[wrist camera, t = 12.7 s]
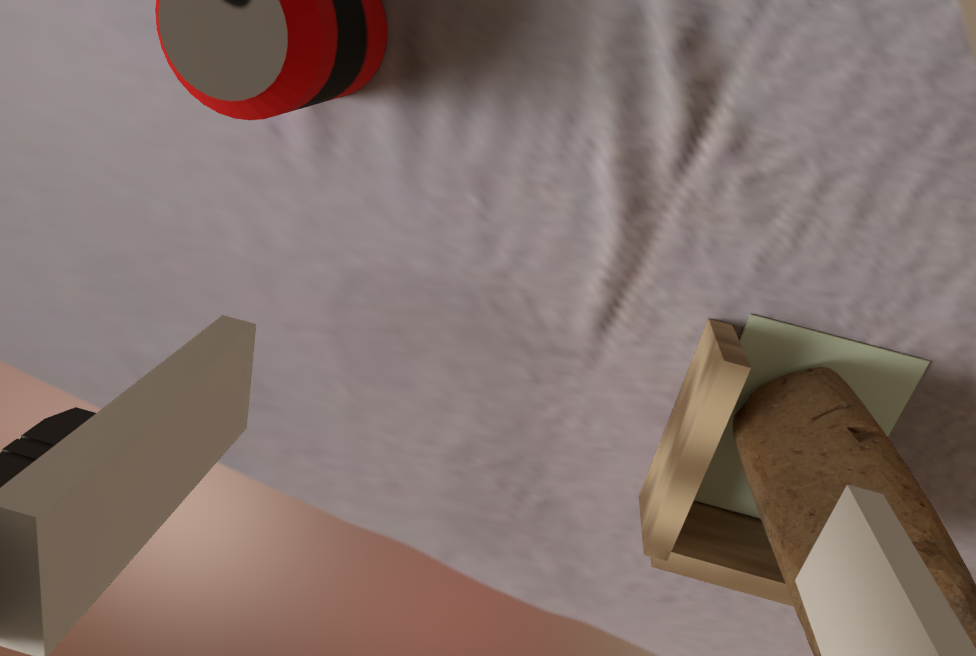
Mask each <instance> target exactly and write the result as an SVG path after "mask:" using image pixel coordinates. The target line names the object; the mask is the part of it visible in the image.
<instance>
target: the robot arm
mask: <svg viewBox="0 0 976 656" xmlns="http://www.w3.org/2000/svg"><path fill="white" fill-rule="evenodd" d="M255 331H256V324H253V323H250V322H246V321H242V320H238V319H235V318H231V317H227V316H224V315H223V316H221V317H220V318H219V319H217V320H216V321H215V322H214V323H212V324H211V325H210V326H208V327H207V328H206V329H205V330H203V331H202V332H201V333H199V334H198V335H197V336H195V337H194V338H193V339H192V340H190V341H189V342H188V343H186V344H185V345H184V346H183V347H181V348H180V349H179V350H177V351H176V352H175V353H174V354H172V355H171V356H170V357H168V358H167V359H166V360H165V361H163V362H162V363H161V364H159V365H158V366H157V367H156V368H154V369H153V370H152V371H150V372H149V373H148V374H146V375H145V376H144V377H143V378H141V379H140V380H139V381H137V382H136V383H135V384H134V385H132V386H131V387H130V388H128V389H127V390H126V391H125V392H123V393H122V394H121V395H119V396H118V397H117V398H116V399H114V400H113V401H112V402H110V403H109V404H108V405H106V406H105V407H104V408H103V409H101V410H100V411H99V412H98V413H94V412H90V411H87V410H83V409H80V408H76V407H75V408H73V409H70V410H67V411H65V412H62V413H59V414H57V415H54V416H51V417H48V418H46V419H44V420H43V421H41V422H40V423H38V424H37V425H35V426H34V427H33V428H31V429H30V430H28V431H27V432H26V433H24V434H23V435H21V438H20V439H16V440H14V441H13V442H12V443H10V444H9V445H8V446H6V447H5V448H3V449H2V452H1V453H0V646H2V647H6V648H9V649H12V650H16V651H19V652H22V653H26V654H29V655H33V656H48V655H49V654H50V653H51V652H52V650H53V649H54V648H55V647H56V646H57V645H58V644H59V642H60V641H61V640H62V639H63V638H64V636H65V635H66V634H67V633H68V632H69V631H70V630H71V629H72V627H73V626H74V625H75V624H76V623H77V622H78V621H79V619H80V618H81V617H82V616H83V615H84V614H85V613H86V611H87V610H88V609H89V608H90V607H91V606H92V604H93V603H94V602H95V601H96V600H97V599H98V598H99V596H100V595H101V594H102V593H103V592H104V591H105V590H106V588H107V587H108V586H109V585H110V584H111V583H112V581H113V580H114V579H115V578H116V577H117V576H118V575H119V573H120V572H121V571H122V570H123V569H124V568H125V567H126V566H127V564H128V563H129V562H130V561H131V560H132V559H133V557H134V556H135V555H136V554H137V553H138V552H139V551H140V549H141V548H142V547H143V546H144V545H145V544H146V543H147V542H148V540H149V539H150V538H151V537H152V535H154V533H155V532H156V531H157V530H158V529H159V528H160V526H161V525H162V524H163V523H164V522H165V521H166V520H167V519H168V517H169V516H170V515H171V514H172V513H173V512H174V511H175V509H176V508H177V507H178V506H179V505H180V504H181V503H182V501H183V500H184V499H185V498H186V497H187V496H188V494H189V493H190V492H191V491H192V490H193V489H194V488H195V486H196V485H197V484H198V483H199V482H200V481H201V480H202V478H203V477H204V476H205V475H206V474H207V473H208V471H209V470H210V469H211V468H212V467H213V466H214V465H215V464H216V462H217V461H218V460H219V459H220V458H221V457H222V456H223V454H224V453H225V452H226V451H227V450H228V449H229V448H230V446H231V445H232V444H233V443H234V442H235V441H236V439H237V438H238V437H239V436H240V435H241V434H242V433H243V431H244V430H245V429H246V428H247V418H248V407H249V396H250V385H251V374H252V363H253V352H254V342H255ZM795 582H796V584H797V587H798V590H799V593H800V596H801V599H802V602H803V604H804V607H805V610H806V613H807V616H808V619H809V622H810V624H811V627H812V630H813V633H814V636H815V639H816V642H817V644H818V647H819V650H820V653H821V656H976V648H975V646H974V645H973V643H972V641H971V640H970V638H969V636H968V635H967V633H966V631H965V630H964V628H963V627H962V625H961V623H960V622H959V620H958V618H957V617H956V615H955V613H954V612H953V610H952V608H951V607H950V605H949V603H948V602H947V600H946V598H945V597H944V595H943V593H942V592H941V590H940V588H939V587H938V585H937V583H936V582H935V580H934V578H933V577H932V575H931V573H930V572H929V570H928V568H927V567H926V565H925V563H924V562H923V560H922V558H921V557H920V555H919V553H918V552H917V550H916V548H915V547H914V545H913V543H912V542H911V540H910V538H909V537H908V535H907V533H906V532H905V530H904V528H903V527H902V525H901V523H900V522H899V520H898V518H897V517H896V515H895V513H894V512H893V510H892V508H891V507H890V505H889V503H888V502H887V500H886V498H885V497H884V495H883V494H880V493H877V492H873V491H869V490H866V489H862V488H858V487H855V486H851V485H847V486H846V488H845V489H844V491H843V493H842V495H841V497H840V499H839V500H838V502H837V504H836V506H835V508H834V510H833V511H832V513H831V515H830V517H829V519H828V521H827V522H826V524H825V526H824V528H823V530H822V532H821V533H820V535H819V537H818V539H817V541H816V543H815V544H814V546H813V548H812V550H811V552H810V554H809V555H808V557H807V559H806V561H805V563H804V565H803V566H802V568H801V570H800V572H799V574H798V576H797V578H796V579H795Z"/></svg>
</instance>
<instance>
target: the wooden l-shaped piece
mask: <svg viewBox="0 0 976 656" xmlns="http://www.w3.org/2000/svg"><path fill="white" fill-rule="evenodd" d="M750 370H751V366H750V364H749V362H748V360H747V357H746V355H745V353H744V351H743V348H742V346H741V344H740V341H739V339H738V337H737V335H736V332H735V330H734V328H733V325H731V324H727V323H723V322H719V321H715V320H712V319H708V321H707V324H706V326H705V329H704V331H703V334H702V336H701V339H700V342H699V344H698V347H697V349H696V352H695V354H694V357H693V359H692V362H691V364H690V367H689V370H688V372H687V375H686V377H685V380H684V382H683V385H682V387H681V390H680V392H679V395H678V398H677V400H676V403H675V405H674V408H673V410H672V413H671V415H670V418H669V420H668V423H667V426H666V428H665V431H664V433H663V436H662V438H661V441H660V443H659V446H658V448H657V451H656V454H655V456H654V459H653V461H652V464H651V466H650V469H649V471H648V474H647V476H646V479H645V482H644V484H643V487H642V489H641V492H640V494H639V504H640V516H641V528H642V540H643V552H644V555H647V556H651V565H652V567H654V568H658V569H662V570H665V571H669V572H672V573H676V574H679V575H683V576H687V577H690V578H694V579H697V580H701V581H704V582H708V583H712V584H715V585H719V586H722V587H726V588H730V589H733V590H737V591H740V592H744V593H747V594H751V595H755V596H758V597H762V598H765V599H769V600H772V601H776V602H780V603H783V604H787V605H790V606H794V604H793V602H792V599H791V596H790V593H789V590H788V587H787V585H786V583H785V581H784V578H783V575H782V573H781V570H780V568H779V565H778V562H777V560H776V557H775V555H774V552H773V550H772V547H771V544H770V542H769V540H768V537H767V534H766V531H765V528H764V526H763V523H762V521H761V520H758V519H755V518H751V517H748V516H744V515H740V514H737V513H733V512H729V511H726V510H722V509H718V508H715V507H711V506H708V505H704V504H700V503H697V502H693V501H694V498H695V496H696V494H697V491H698V489H699V487H700V485H701V482H702V480H703V478H704V475H705V473H706V471H707V468H708V466H709V464H710V462H711V459H712V457H713V455H714V452H715V450H716V448H717V445H718V443H719V441H720V439H721V436H722V434H723V432H724V429H725V427H726V425H727V423H728V420H729V418H730V416H731V413H732V411H733V409H734V406H735V404H736V402H737V400H738V397H739V395H740V393H741V390H742V388H743V386H744V383H745V381H746V379H747V377H748V374H749V372H750Z"/></svg>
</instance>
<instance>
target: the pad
mask: <svg viewBox="0 0 976 656" xmlns="http://www.w3.org/2000/svg"><path fill="white" fill-rule="evenodd" d="M739 341H740V344H741V346H742V348H743V351H744V353H745V355H746V357H747V360H748V362H749V364H750V366H751V370H750V372H749V374H748V377H747V379H746V381H745V383H744V386H743V388H742V390H741V393H740V395H739V397H738V400H737V402H736V404H735V406H734V409H733V411H732V413H731V416H730V418H729V420H728V423H727V425H726V427H725V429H724V432H723V434H722V436H721V439H720V441H719V443H718V445H717V448H716V450H715V452H714V455H713V457H712V459H711V462H710V464H709V466H708V468H707V471H706V473H705V475H704V478H703V480H702V482H701V485H700V487H699V489H698V491H697V494H696V496H695V498H694V500H695V501H698V502H702V503H706V504H709V505H713V506H717V507H720V508H724V509H727V510H731V511H735V512H738V513H742V514H746V515H749V516H753V517H757V518H760V515H759V513H758V510H757V507H756V504H755V501H754V499H753V495H752V492H751V489H750V486H749V483H748V480H747V478H746V475H745V472H744V469H743V466H742V462H741V459H740V455H739V452H738V449H737V446H736V443H735V439H734V434H733V418H734V415H735V414H736V413H737V412H738V410H739V409H740V408H741V407H742V406H743V405H744V404H745V403H746V402H747V401H748V399H749V397H750V395H751V394H752V393H753V392H755V391H756V390H757V389H758V388H759V387H760V386H761V385H763V384H765V383H767V382H769V381H771V380H773V379H776V378H778V377H781V376H784V375H786V374H789V373H792V372H797V371H803V370H807V369H810V368H817V367H827V368H830V369H831V370H833V371H835V372H836V373H837V374H838V375H839V376H840V377H841V378H842V379H843V380H844V381H845V382H846V383H847V384H848V385H849V386H850V388H851V389H852V390H853V391H854V392H855V394H856V395H857V396H858V397H859V399H860V400H861V401H862V403H863V404H864V405H865V407H866V408H867V409H868V411H869V412H870V413H871V415H872V416H873V418H874V419H875V420H876V422H877V423H878V424H879V426H880V427H881V428H882V430H883V431H884V433H885V434H886V436H887V437H888V436H889V435H890V433H891V431H892V429H893V427H894V426H895V424H896V422H897V420H898V418H899V417H900V415H901V413H902V411H903V409H904V408H905V406H906V404H907V402H908V400H909V399H910V397H911V395H912V393H913V391H914V390H915V388H916V386H917V384H918V382H919V381H920V379H921V377H922V375H923V373H924V372H925V370H926V368H927V366H928V364H929V363H930V362H929V361H928V360H925V359H921V358H917V357H913V356H910V355H906V354H902V353H898V352H894V351H890V350H887V349H883V348H879V347H875V346H871V345H868V344H864V343H860V342H856V341H852V340H849V339H845V338H841V337H837V336H833V335H830V334H826V333H822V332H818V331H814V330H811V329H807V328H803V327H799V326H795V325H792V324H788V323H784V322H780V321H776V320H773V319H769V318H765V317H761V316H757V315H754V314H750V315H749V318H748V320H747V322H746V325H745V327H744V330H743V332H742V334H741V337H740V339H739ZM760 519H761V518H760Z"/></svg>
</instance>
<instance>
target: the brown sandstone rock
mask: <svg viewBox="0 0 976 656" xmlns="http://www.w3.org/2000/svg"><path fill="white" fill-rule="evenodd" d="M733 434H734V439H735V443H736V446H737V449H738V452H739V455H740V459H741V462H742V466H743V469H744V472H745V475H746V478H747V480H748V483H749V486H750V489H751V492H752V495H753V499H754V501H755V504H756V507H757V510H758V513H759V515H760V518H761V521H762V523H763V526H764V528H765V531H766V534H767V537H768V540H769V542H770V544H771V547H772V550H773V552H774V555H775V557H776V560H777V562H778V565H779V568H780V570H781V573H782V575H783V578H784V581H785V583H786V585H787V587H788V590H789V593H790V596H791V599H792V602H793V604H794V607H795V610H796V613H797V616H798V618H799V620H800V622H801V624H802V627H803V629H804V631H805V634H806V638H807V640H808V643H809V645H810V647H811V650H812V652H813V654H814V656H821V653H820V650H819V647H818V644H817V642H816V639H815V636H814V633H813V630H812V627H811V624H810V622H809V619H808V616H807V613H806V610H805V607H804V604H803V602H802V599H801V596H800V593H799V590H798V587H797V584H796V582H795V579H796V578H797V576H798V574H799V572H800V570H801V568H802V566H803V565H804V563H805V561H806V559H807V557H808V555H809V554H810V552H811V550H812V548H813V546H814V544H815V543H816V541H817V539H818V537H819V535H820V533H821V532H822V530H823V528H824V526H825V524H826V522H827V521H828V519H829V517H830V515H831V513H832V511H833V510H834V508H835V506H836V504H837V502H838V500H839V499H840V497H841V495H842V493H843V491H844V489H845V488H846V486H847V485H851V486H855V487H858V488H862V489H866V490H869V491H873V492H877V493H880V494H883V495H884V497H885V498H886V500H887V502H888V503H889V505H890V507H891V508H892V510H893V512H894V513H895V515H896V517H897V518H898V520H899V522H900V523H901V525H902V527H903V528H904V530H905V532H906V533H907V535H908V537H909V538H910V540H911V542H912V543H913V545H914V547H915V548H916V550H917V552H918V553H919V555H920V557H921V558H922V560H923V562H924V563H925V565H926V567H927V568H928V570H929V572H930V573H931V575H932V577H933V578H934V580H935V582H936V583H937V585H938V587H939V588H940V590H941V592H942V593H943V595H944V597H945V598H946V600H947V602H948V603H949V605H950V607H951V608H952V610H953V612H954V613H955V615H956V617H957V618H958V620H959V622H960V623H961V625H962V627H963V628H964V630H965V631H966V633H967V635H968V636H969V638H970V640H971V641H972V643H973V645H974V646H975V648H976V584H975V583H974V581H973V579H972V576H971V574H970V572H969V570H968V568H967V567H966V565H965V563H964V561H963V559H962V558H961V556H960V554H959V552H958V550H957V548H956V547H955V545H954V543H953V541H952V539H951V538H950V536H949V534H948V532H947V531H946V529H945V527H944V525H943V524H942V522H941V520H940V518H939V516H938V515H937V513H936V511H935V509H934V508H933V506H932V504H931V503H930V502H929V500H928V499H927V497H926V496H925V494H924V492H923V491H922V489H921V487H920V486H919V484H918V482H917V481H916V479H915V478H914V476H913V474H912V473H911V471H910V470H909V468H908V467H907V465H906V464H905V462H904V460H903V459H902V458H901V456H900V455H899V454H898V452H897V451H896V449H895V447H894V446H893V444H892V443H891V441H890V440H889V439H888V437H887V436H886V434H885V433H884V431H883V430H882V428H881V427H880V426H879V424H878V423H877V422H876V420H875V419H874V418H873V416H872V415H871V413H870V412H869V411H868V409H867V408H866V407H865V405H864V404H863V403H862V401H861V400H860V399H859V397H858V396H857V395H856V394H855V392H854V391H853V390H852V389H851V388H850V386H849V385H848V384H847V383H846V382H845V381H844V380H843V379H842V378H841V377H840V376H839V375H838V374H837V373H836V372H835V371H833V370H831V369H830V368H827V367H817V368H810V369H807V370H803V371H797V372H792V373H789V374H786V375H784V376H781V377H778V378H776V379H773V380H771V381H769V382H767V383H765V384H763V385H761V386H760V387H759V388H758V389H757V390H756V391H755V392H753V393H752V394H751V395H750V397H749V399H748V401H747V402H746V403H745V404H744V405H743V406H742V407H741V408H740V409H739V410H738V412H737V413H736V414H735V415H734V418H733Z"/></svg>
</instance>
